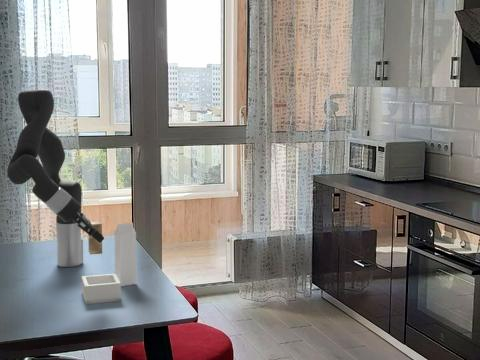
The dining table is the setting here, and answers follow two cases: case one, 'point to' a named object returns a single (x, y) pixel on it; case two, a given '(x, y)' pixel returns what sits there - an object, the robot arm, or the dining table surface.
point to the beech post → (94, 245)
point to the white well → (101, 288)
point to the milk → (125, 254)
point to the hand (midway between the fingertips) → (101, 238)
